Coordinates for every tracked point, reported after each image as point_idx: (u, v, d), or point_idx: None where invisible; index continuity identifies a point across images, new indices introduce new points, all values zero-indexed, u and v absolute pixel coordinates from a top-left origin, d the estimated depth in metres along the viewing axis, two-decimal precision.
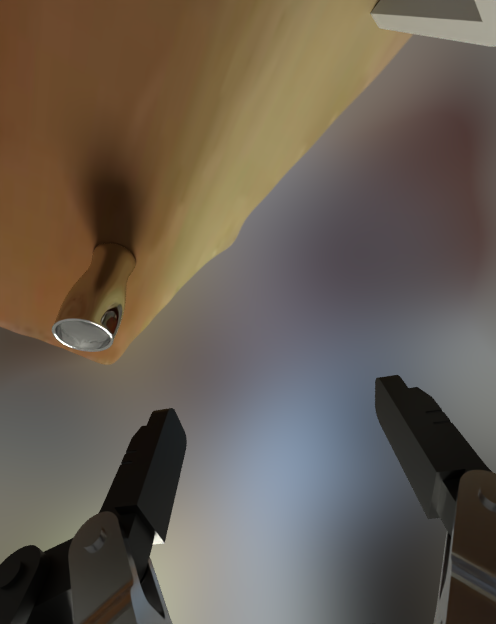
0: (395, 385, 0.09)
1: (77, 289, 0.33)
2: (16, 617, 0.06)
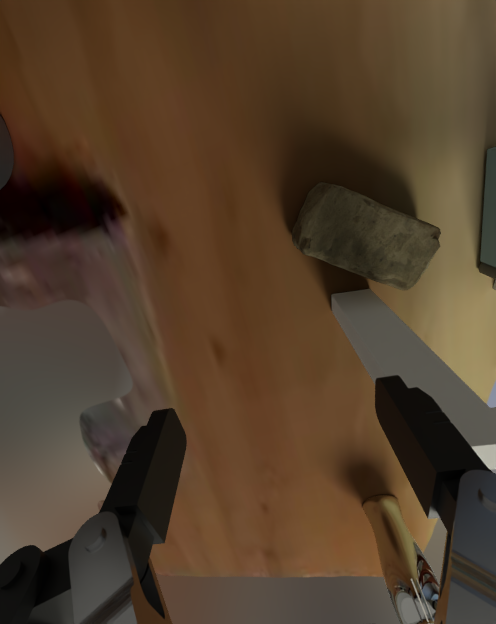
0: (395, 385, 0.09)
1: (393, 578, 0.38)
2: (17, 617, 0.06)
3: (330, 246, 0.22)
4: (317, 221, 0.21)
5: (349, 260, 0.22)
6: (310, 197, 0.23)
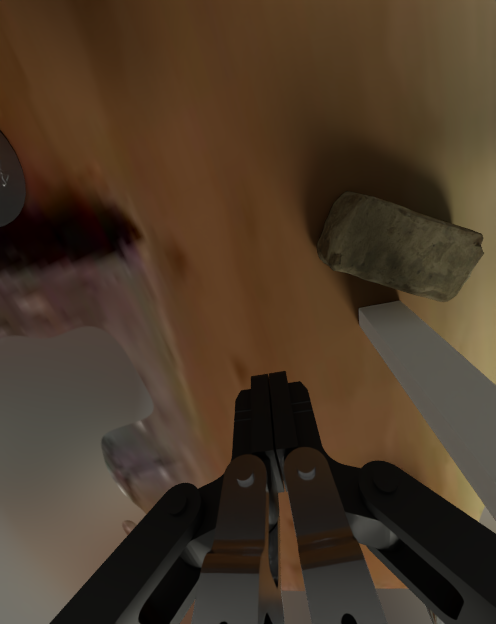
0: (278, 379, 0.11)
1: None
2: (171, 552, 0.06)
3: (363, 260, 0.20)
4: (348, 235, 0.20)
5: (384, 274, 0.21)
6: (336, 208, 0.22)
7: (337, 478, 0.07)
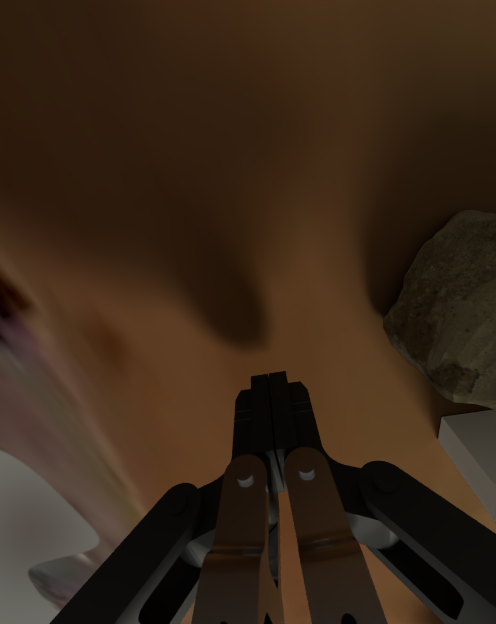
0: (278, 379, 0.11)
1: None
2: (171, 552, 0.06)
3: None
4: None
5: None
6: (447, 248, 0.10)
7: (337, 478, 0.07)
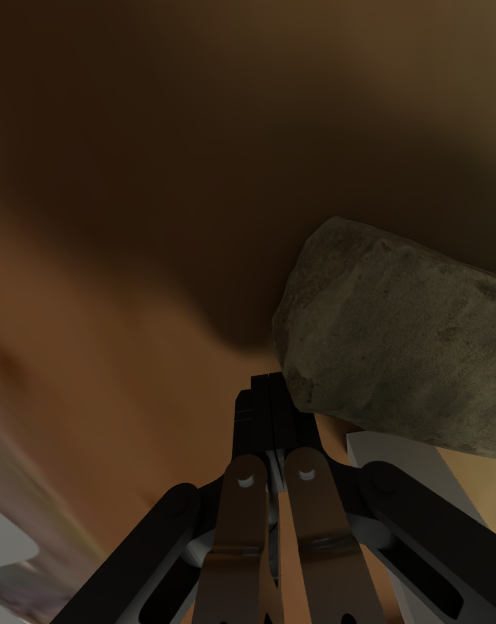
0: (278, 379, 0.11)
1: None
2: (171, 553, 0.06)
3: (368, 398, 0.08)
4: (331, 341, 0.07)
5: (418, 426, 0.08)
6: (310, 254, 0.09)
7: (337, 478, 0.07)
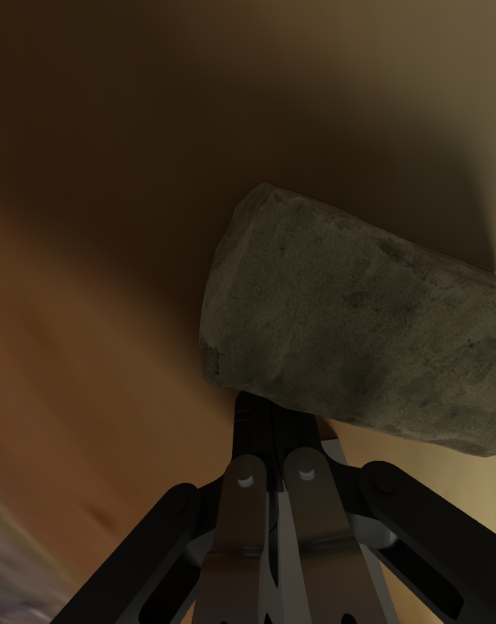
0: None
1: None
2: (171, 552, 0.06)
3: (278, 370, 0.07)
4: (232, 305, 0.07)
5: (335, 403, 0.08)
6: (234, 222, 0.09)
7: (337, 478, 0.07)
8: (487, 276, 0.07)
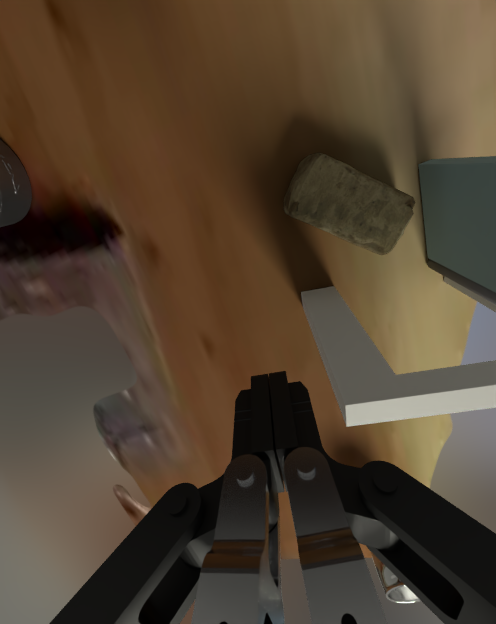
0: (278, 379, 0.11)
1: None
2: (171, 552, 0.06)
3: (315, 209, 0.25)
4: (304, 186, 0.24)
5: (332, 223, 0.25)
6: (300, 167, 0.26)
7: (337, 478, 0.07)
8: None
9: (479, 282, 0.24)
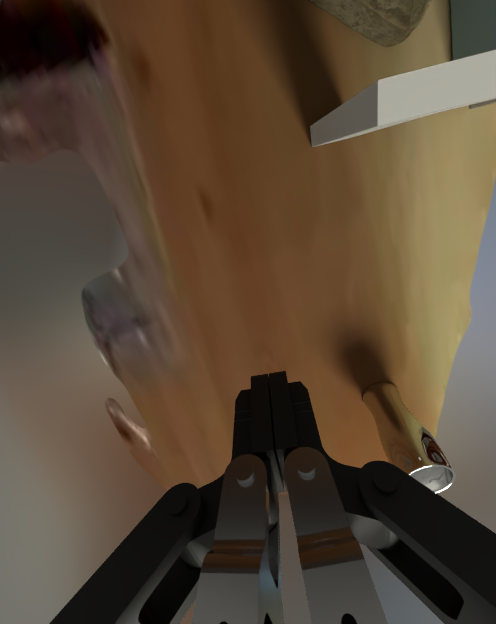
0: (278, 379, 0.11)
1: (391, 440, 0.38)
2: (171, 552, 0.06)
3: None
4: None
5: None
6: None
7: (337, 478, 0.07)
8: None
9: None
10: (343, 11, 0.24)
